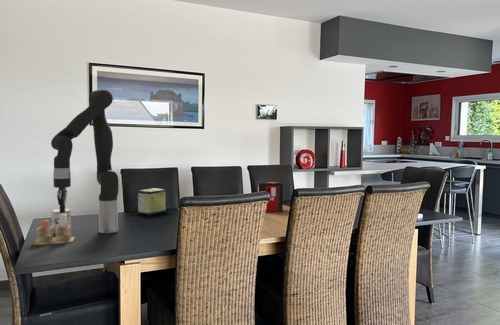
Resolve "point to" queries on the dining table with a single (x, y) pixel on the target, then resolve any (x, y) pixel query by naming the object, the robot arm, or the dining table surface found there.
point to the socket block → (61, 235)
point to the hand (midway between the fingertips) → (62, 212)
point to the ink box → (56, 218)
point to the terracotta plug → (45, 224)
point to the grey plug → (63, 220)
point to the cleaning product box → (273, 195)
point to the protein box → (151, 201)
